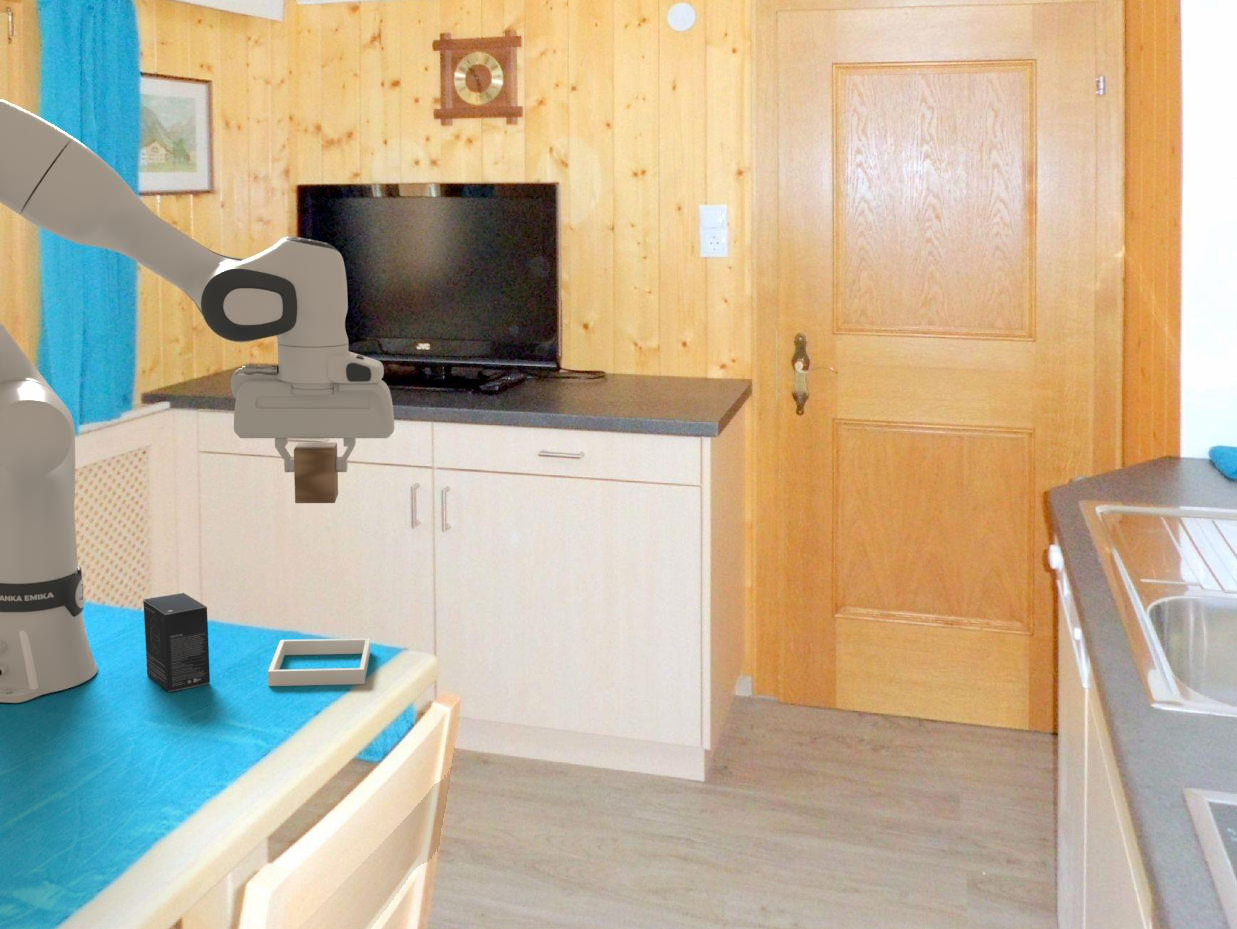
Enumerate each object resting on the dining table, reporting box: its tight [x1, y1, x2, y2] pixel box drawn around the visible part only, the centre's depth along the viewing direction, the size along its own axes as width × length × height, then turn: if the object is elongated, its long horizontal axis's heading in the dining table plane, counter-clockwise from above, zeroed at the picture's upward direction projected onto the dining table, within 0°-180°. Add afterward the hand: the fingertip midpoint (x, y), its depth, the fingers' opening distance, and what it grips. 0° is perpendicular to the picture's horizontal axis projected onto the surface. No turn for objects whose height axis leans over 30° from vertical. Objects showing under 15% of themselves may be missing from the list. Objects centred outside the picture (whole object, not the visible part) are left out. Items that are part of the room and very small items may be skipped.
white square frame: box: [267, 637, 371, 687], centre depth 179 cm, size 12×12×2 cm
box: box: [143, 592, 211, 693], centre depth 173 cm, size 8×6×11 cm
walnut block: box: [293, 441, 339, 504], centre depth 174 cm, size 5×5×7 cm
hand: (316, 471), depth 174 cm, fingers closed on walnut block, 5 cm apart
